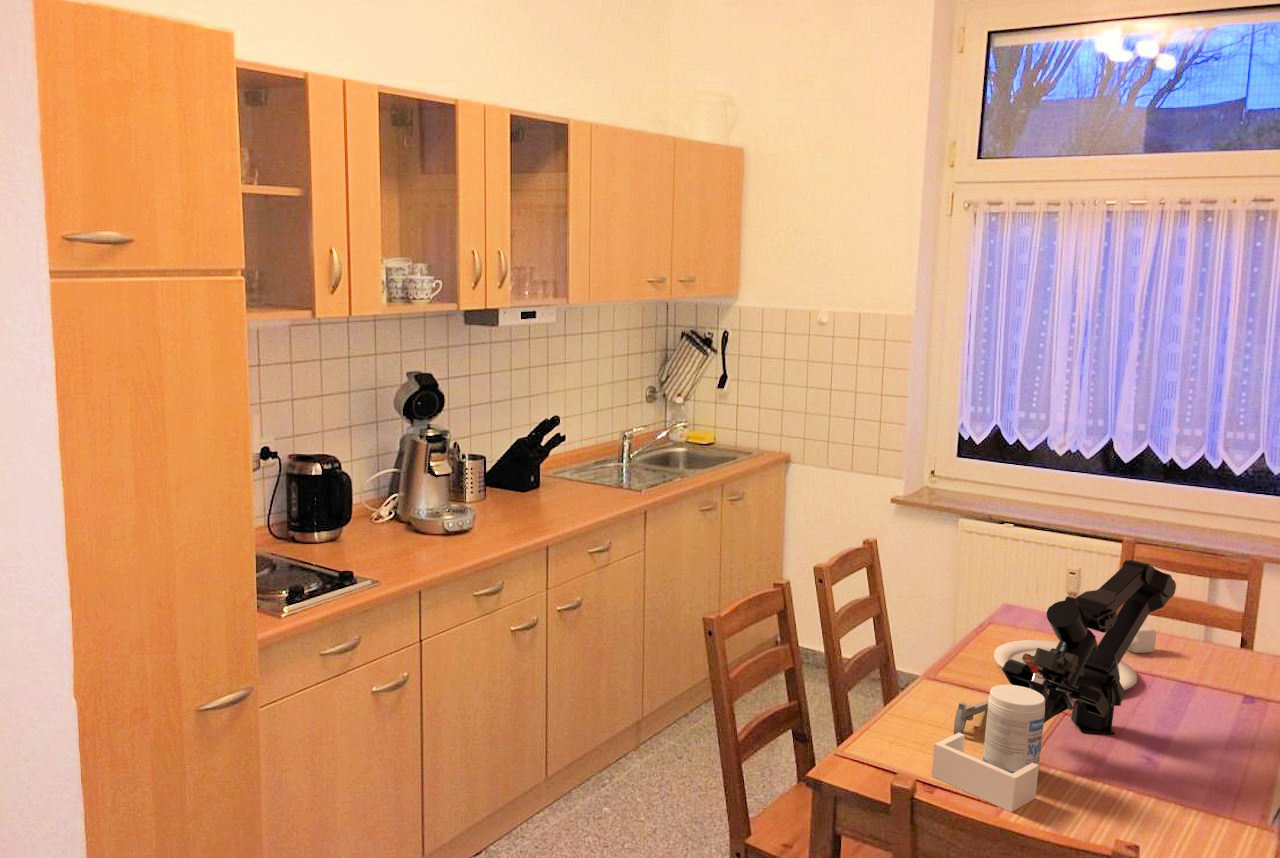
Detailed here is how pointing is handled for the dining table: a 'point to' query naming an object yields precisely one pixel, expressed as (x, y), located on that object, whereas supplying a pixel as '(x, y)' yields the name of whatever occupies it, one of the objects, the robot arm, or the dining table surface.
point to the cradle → (983, 775)
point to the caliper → (967, 714)
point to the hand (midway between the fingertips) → (1034, 725)
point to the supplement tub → (1013, 727)
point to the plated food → (1027, 650)
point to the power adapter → (1143, 640)
